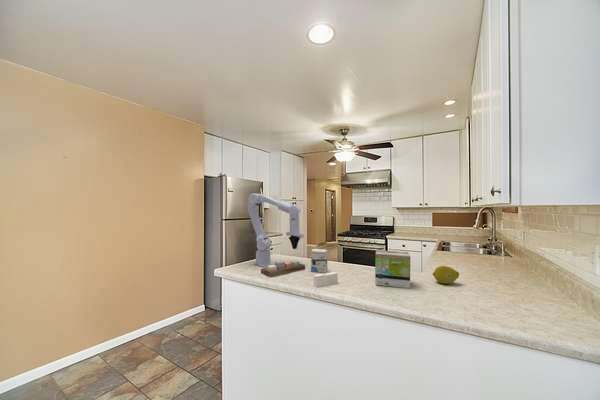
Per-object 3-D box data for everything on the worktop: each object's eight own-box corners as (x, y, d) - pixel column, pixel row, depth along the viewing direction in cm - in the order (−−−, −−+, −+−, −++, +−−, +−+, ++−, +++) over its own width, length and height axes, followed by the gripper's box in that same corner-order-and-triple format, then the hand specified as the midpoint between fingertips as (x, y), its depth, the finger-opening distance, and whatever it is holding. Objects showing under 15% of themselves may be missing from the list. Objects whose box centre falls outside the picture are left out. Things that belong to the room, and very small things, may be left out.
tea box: (375, 285, 115) (374, 253, 115) (375, 279, 125) (375, 249, 124) (410, 289, 110) (410, 255, 110) (408, 281, 120) (407, 250, 120)
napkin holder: (340, 281, 122) (340, 270, 122) (341, 290, 111) (341, 277, 111) (309, 280, 124) (309, 269, 124) (307, 289, 113) (307, 276, 113)
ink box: (310, 271, 138) (310, 250, 138) (312, 269, 142) (312, 248, 142) (326, 273, 135) (325, 251, 135) (327, 270, 140) (327, 249, 140)
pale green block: (289, 266, 145) (289, 261, 145) (295, 265, 147) (295, 260, 147) (294, 267, 142) (293, 262, 142) (299, 266, 144) (299, 261, 144)
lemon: (432, 284, 116) (432, 267, 116) (432, 279, 123) (432, 263, 123) (460, 288, 111) (460, 270, 111) (458, 282, 118) (458, 265, 118)
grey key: (274, 267, 138) (274, 261, 138) (280, 266, 141) (280, 260, 141) (278, 268, 135) (278, 263, 135) (284, 267, 138) (284, 262, 138)
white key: (266, 271, 135) (266, 266, 135) (272, 270, 138) (272, 264, 138) (270, 273, 132) (270, 267, 132) (276, 271, 134) (276, 266, 134)
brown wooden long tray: (261, 273, 136) (260, 268, 136) (294, 265, 151) (294, 261, 151) (270, 277, 129) (270, 272, 128) (305, 269, 143) (305, 264, 143)
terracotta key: (282, 268, 142) (282, 262, 142) (288, 266, 144) (288, 261, 144) (286, 269, 138) (286, 264, 138) (292, 268, 141) (292, 262, 141)
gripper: (307, 226, 146) (307, 249, 146) (292, 224, 158) (292, 246, 158) (297, 227, 142) (298, 251, 142) (283, 225, 153) (283, 247, 153)
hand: (294, 248), depth 150 cm, fingers closed
